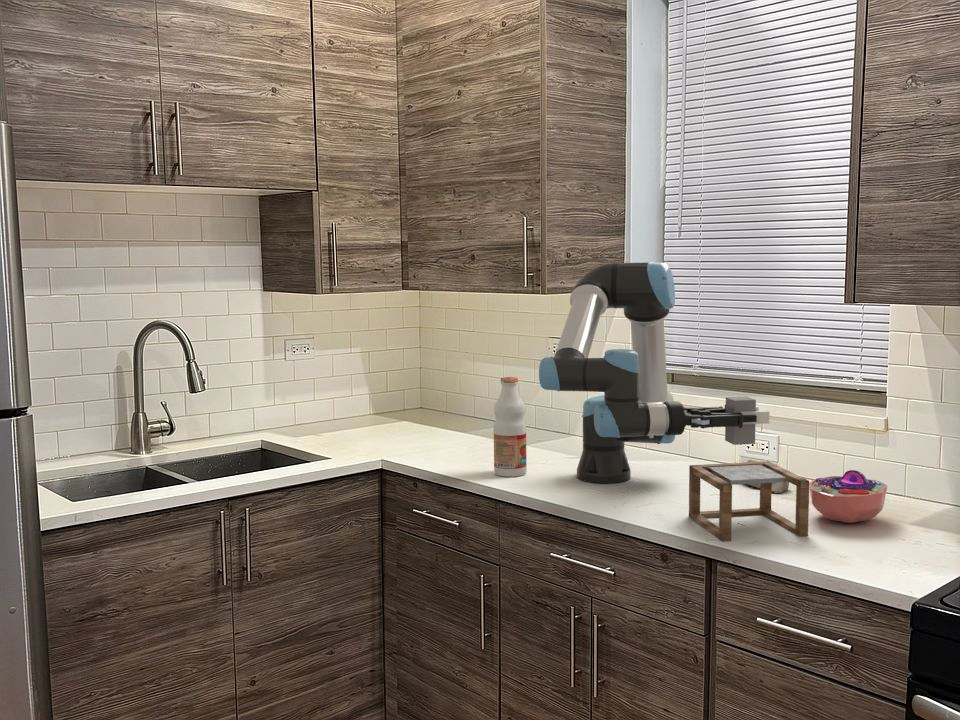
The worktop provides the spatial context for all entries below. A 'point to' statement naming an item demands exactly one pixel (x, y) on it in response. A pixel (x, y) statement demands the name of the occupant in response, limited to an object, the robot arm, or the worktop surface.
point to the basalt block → (748, 430)
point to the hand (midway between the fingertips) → (762, 415)
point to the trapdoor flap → (746, 474)
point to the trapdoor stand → (726, 509)
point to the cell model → (848, 497)
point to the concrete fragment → (774, 484)
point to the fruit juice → (509, 431)
